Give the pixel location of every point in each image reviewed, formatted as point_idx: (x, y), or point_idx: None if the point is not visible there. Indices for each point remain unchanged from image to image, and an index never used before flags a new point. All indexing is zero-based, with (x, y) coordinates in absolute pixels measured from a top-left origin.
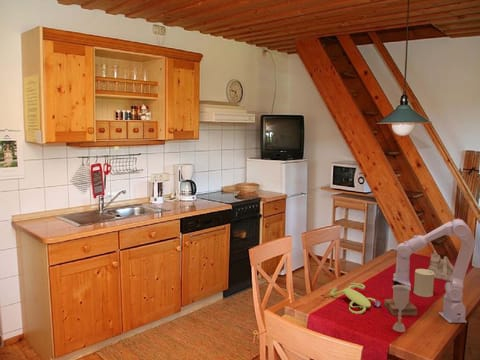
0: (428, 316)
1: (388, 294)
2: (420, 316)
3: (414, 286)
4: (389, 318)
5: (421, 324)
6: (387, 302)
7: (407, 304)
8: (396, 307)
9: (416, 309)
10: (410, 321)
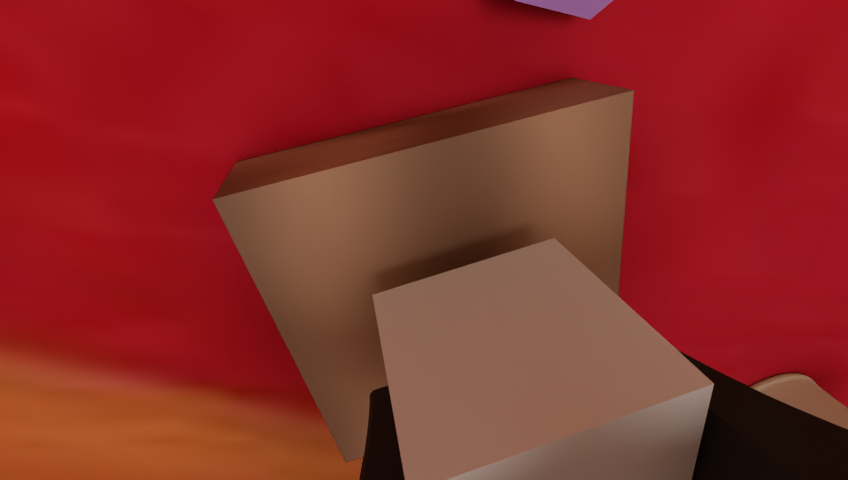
0: (344, 465)
1: (828, 179)
2: (323, 419)
3: (841, 420)
4: (83, 88)
5: (108, 432)
6: (500, 127)
7: None
8: (311, 252)
9: (341, 448)
10: (134, 345)
